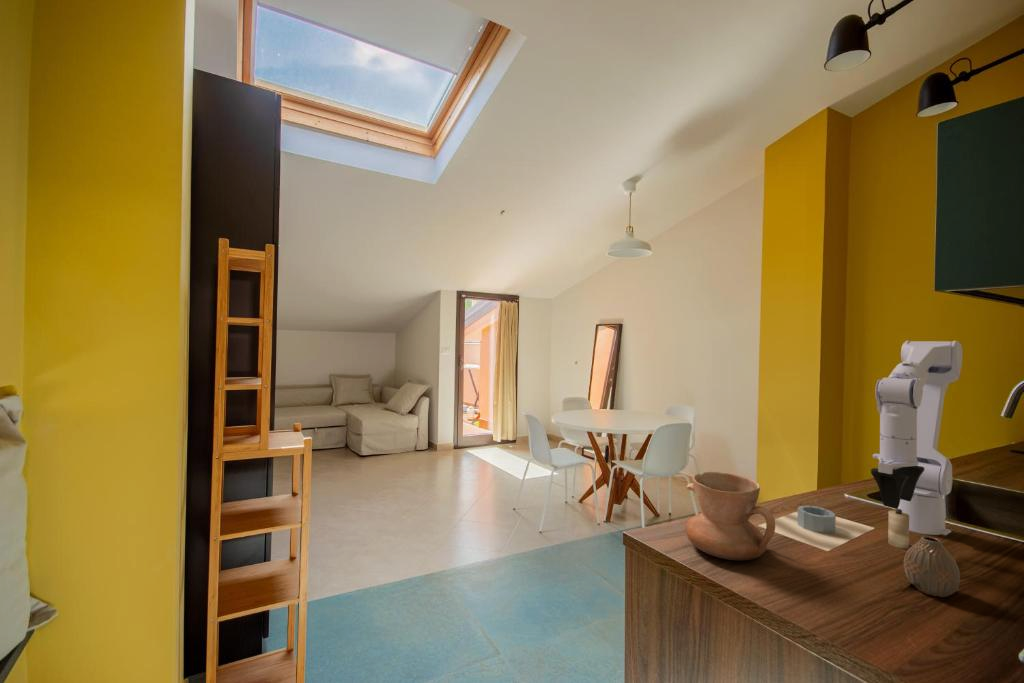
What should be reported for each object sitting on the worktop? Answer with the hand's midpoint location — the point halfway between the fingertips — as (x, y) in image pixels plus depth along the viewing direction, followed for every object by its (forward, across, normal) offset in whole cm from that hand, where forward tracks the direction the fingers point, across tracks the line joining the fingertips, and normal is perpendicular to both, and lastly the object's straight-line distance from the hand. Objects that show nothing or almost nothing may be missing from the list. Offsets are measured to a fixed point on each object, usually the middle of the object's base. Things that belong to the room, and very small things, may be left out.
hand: (897, 503), depth 90 cm
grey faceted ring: (+8, +4, -13) cm, 16 cm away
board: (+9, +4, -13) cm, 17 cm away
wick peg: (+9, 0, 0) cm, 9 cm away
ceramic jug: (+9, +31, -18) cm, 37 cm away
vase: (+10, +15, +9) cm, 20 cm away
